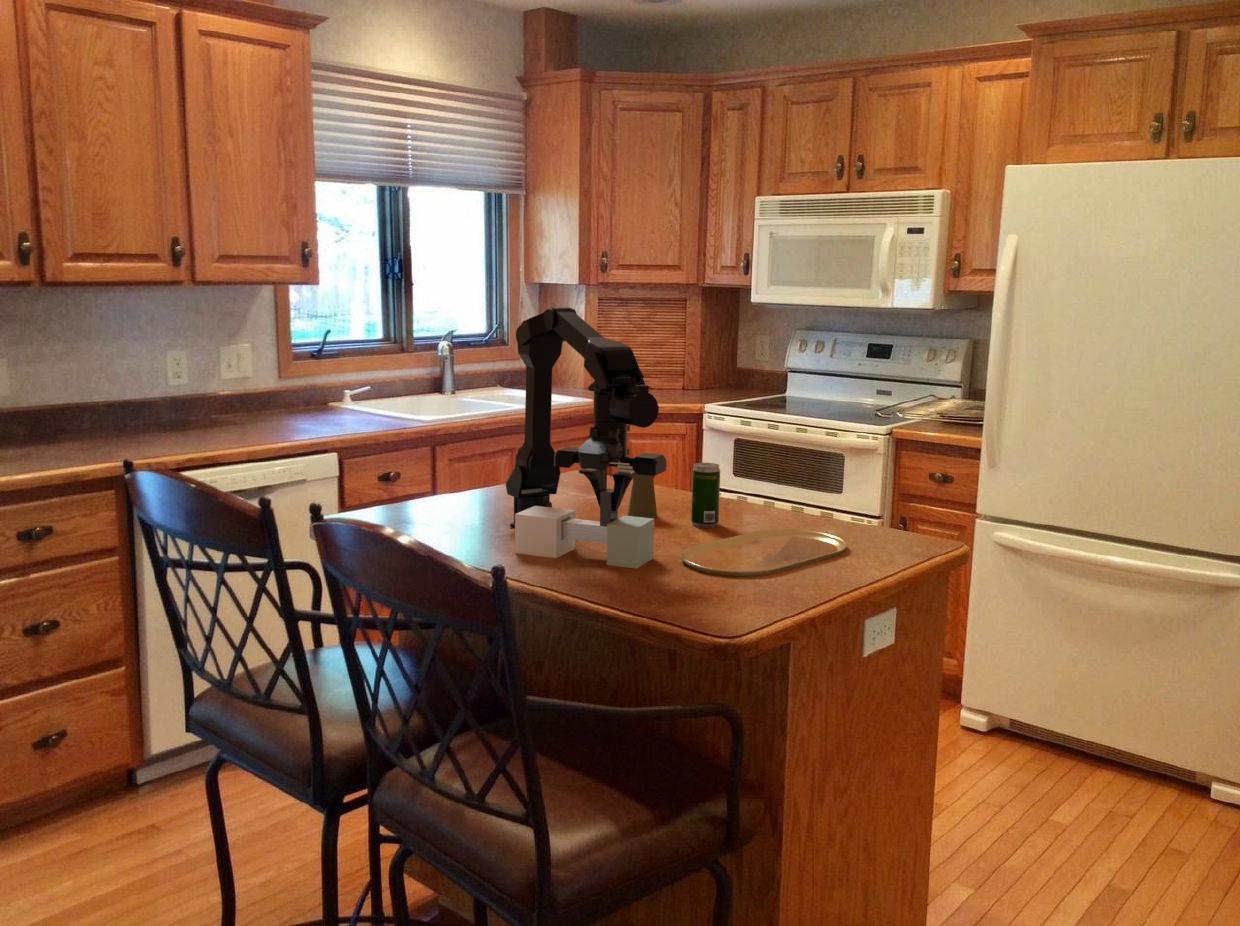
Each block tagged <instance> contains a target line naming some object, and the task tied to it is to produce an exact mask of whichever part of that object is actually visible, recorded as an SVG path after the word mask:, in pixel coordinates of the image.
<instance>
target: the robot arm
mask: <svg viewBox="0 0 1240 926" xmlns="http://www.w3.org/2000/svg"><path fill="white" fill-rule="evenodd" d="M515 339H516V343H517V353H518V355H519V356H520V358H521V361H522V362H523V363H524V366H525V403H524V404H525V406H524V407H525V410H524V411H525V413H524V442H523V444H522V446H521V447H520V449H519V451H518V452H517V453H516V455H515V463H514V468H513V470H512V472H511V474H510V476H509V477H508V479H507V480H506V482H505V488H506V494H507V495H508V496H510V497H513V522H511V523H509V527H511V528H515V514H516V513H519V512H521V511H524V510H526V509H529V508H531V507H533V506H542V507H551V508H553V503H552V502H551V500H550V499H551V497H550V496H551V495H557V492H558V487H559V483H560V477H561V468H563V469H564V468H565V469H566V468H567V469H570V468H571V467H573V465H575V464H579V467H580V469H579V470H578V472H579V474H581V475H584V476H585V477H586V478H587V479H588V480H589V482H590V485H591V487H592V489H593V491H594V495H595V498H596V500H597V501H596V502H597V504H598V507H599V508H600V491H603V490H605V489H607V488H608V487H607V486H608V482H607V481H608V468H609V467H615V468H616V467H617V472H614V473H612V479H613V483H614V484H613V489H614V494H613V511H615V512H616V511H617V510H619V508H620V505H621V504H622V501H623V498H624V496H625V494H626V491H627V489H628V487H629V486H630V483H631V482H632V481H633V477H634V476H635V475H637V474H638V475H649V476H655V477H656V476H657V475H659V474H662V473H665V472H666V471H667V458H666V457H665V456H664V454H660V453H659V454H658V453H649V452H644V453H641V454H638V455H636V456H629V455H630V448H628V432H630V431H631V426H633V427H637V428H644V429H645V428H647V427H650V426H651V425H653V424H654V422H656V420H657V419H658V416H659V411H660V406H659V404H658V400H657V398H656V397H655V396H654V395H653V394H652V393H650V392H649V390H650V386H649V385H648V384H646V383H645V380H644V378H645V376H644V374H643V372H642V371H641V369H640V366H639V363H638V361H637V359H636V356H635V353H634V352H633V349H632V348H631V347H630V346H629V345H627V344H625V343H622V342H621V341H617V340H613V339H610V338H607V337H604V335H602V334H600V333H599V332H598V331H597V330H596V329H595V328H593V327H592V326H591V325H590V324H589V323H588V322H586V321H585V320H584V319H583V318H582V317H581V316H579V314H577V311H576V310H575V309H574V308H572V307H570V306H565V307H564V306H563V307H562V306H557V307H555V306H553V307H550V308H547V309H545V310H544V311H543V312H542V313H539V314H536V315H534V316H532V317H529V318H526V320H523V321H522V322H521V323H520V325H518V327H517V329H516V332H515ZM564 342H565V343H567V344H568V345H569V346H571V348H573V350H575V351H576V353H578V354H579V355H580V356H581V357H582V359H583V360H584V361H583V368H585V370H586V372H587V373H588V374H589V375H590V377H591V379H593V380H594V381H593V382H592V383H590V385H589V386H588V388H587V390H588V391H589V392H593V425H592V426H589V427H590V429H589V435H588V438H587V439H586V440H585V441H584V442H583V443H582V444H581V446H580V447H577V446H567V447H564V448H560V449H557V450H556V451H555V449H554V447H553V446H552V444H551V433H552V429H551V428H552V396H553V395H552V394H553V368H554V366H555V365H556V364H557V362H558V360H559V358H560V357H561V355H562V349H563V343H564Z"/></svg>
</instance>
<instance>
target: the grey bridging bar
mask: <svg viewBox="0 0 1240 926" xmlns="http://www.w3.org/2000/svg"><path fill="white" fill-rule="evenodd" d="M613 494H614V488H608V487H607V489H605V490H603V491H600V507H599V521H597V520H590V519H589V520H588V519H580V518H575V519H572V518H566V519H563V520H562V523H561V538H562V539H570V540H575V541H581V542H586V543H587V542H589V543H597V544H605V545H607V524H609V523H611V522H613V521H615V520H617V519H619V511H618V510H619V509H618V510H617V511H616V512H615V511H613Z"/></svg>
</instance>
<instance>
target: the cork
mask: <svg viewBox="0 0 1240 926" xmlns="http://www.w3.org/2000/svg"><path fill="white" fill-rule="evenodd" d="M655 477H656V475H655V476H649V475H638V474H637V475H635V476H634V477H633V478H632V483H631V484H632V485H631V491H630V492H631V493H630V499H629V503H628V504H629V505H628V512H627V516H634V517H643V518H652V519H655V518H657V517H658V512H657V510H658V509H657V502H656V492H655V483H654V479H655Z"/></svg>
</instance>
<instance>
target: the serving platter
mask: <svg viewBox="0 0 1240 926" xmlns="http://www.w3.org/2000/svg"><path fill="white" fill-rule="evenodd" d="M771 538H801V539H810V540H816V541H820V542H824V543H827V544H830V545H832V546H834V547H835V548H836V549H837V550H835V551H832V552H827V553H824V554H820V555H817V556H814V557H810V558H807V559H803V560H799V561H794V562H791V563H788V564H784V565H781V566H777V567H772V568H766V569H757V570H756V569H755V570H738V569H737V570H735V569H734V570H733V569H724V568H723V569H722V568H714V567H707V566H703V565H700V564H696V563H693V562H691V561H690V560H691V559H692V558H693V557H695V556H698V555H702V554H704V553H710V552H713V551H717V550H721V549H726V548H729V547H735V546H739V545H741V544H747V543H750V542H754V541H759V540H762V539H763V540H764V539H771ZM847 547H848V546H847V542H846V541H845V540H844V539H842V538H841V537H838V536H836V535H833V534H829V533H825V532H821V531H815V530H806V529H798V528H797V529H796V528H795V529H792V528H775V529H774V528H771V529H770V528H769V529H761V530H757V531H756V530H755V531H751V532H747V533H743V534H738V535H735V536H730V537H726V538H722V539H717V540H713V541H708V542H704V543H701V544H696V545H692V546H688V547H687V548H685V549H683V550H682V551H681V553H680V558H681V559H682V561H683V562H684V563H685V564H686V565H687V566H688V567H690V568H692V569H694V570H696V571H700V572H702V573H707V574H712V575H720V576H727V577H728V576H729V577H757V576H758V577H759V576H765V575H766V576H768V575H771V574H775V573H779V572H784V571H786V570H790V569H794V568H797V567H800V566H805V565H807V564H811V563H815V562H819V561H823V560H825V559H829V558H832V557H836V556H838V555H840V554H842V553H843V552H845V550H846V548H847Z"/></svg>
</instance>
